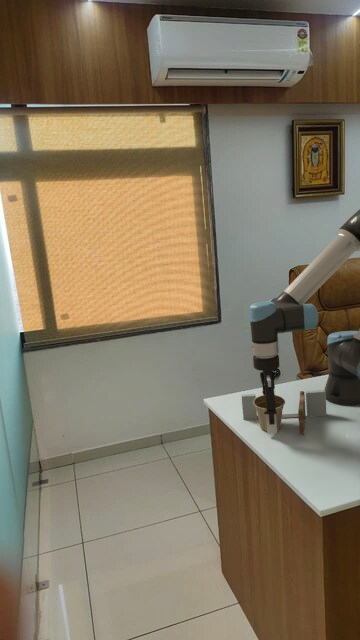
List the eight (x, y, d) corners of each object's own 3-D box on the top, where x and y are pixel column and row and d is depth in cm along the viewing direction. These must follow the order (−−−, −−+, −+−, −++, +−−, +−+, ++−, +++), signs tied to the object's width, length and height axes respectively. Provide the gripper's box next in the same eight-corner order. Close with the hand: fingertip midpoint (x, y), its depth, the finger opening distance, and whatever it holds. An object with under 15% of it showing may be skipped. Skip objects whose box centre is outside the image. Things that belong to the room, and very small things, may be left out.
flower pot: (292, 430, 123) (291, 404, 121) (264, 438, 121) (262, 411, 119) (276, 416, 132) (275, 392, 130) (249, 423, 130) (247, 398, 127)
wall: (325, 413, 132) (324, 389, 131) (326, 416, 130) (325, 392, 128) (243, 417, 136) (241, 394, 134) (243, 420, 133) (241, 397, 132)
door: (301, 413, 133) (299, 391, 131) (309, 414, 132) (308, 391, 131) (299, 435, 119) (297, 410, 118) (308, 435, 119) (306, 410, 117)
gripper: (250, 345, 132) (256, 411, 137) (255, 367, 111) (260, 443, 115) (274, 344, 131) (279, 409, 136) (283, 365, 110) (288, 442, 114)
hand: (270, 425), depth 126 cm, fingers open, 9 cm apart
